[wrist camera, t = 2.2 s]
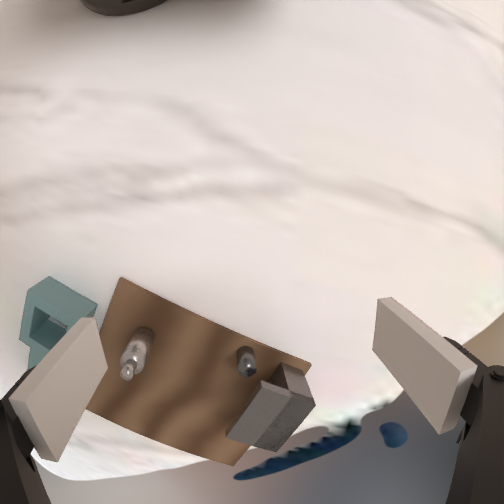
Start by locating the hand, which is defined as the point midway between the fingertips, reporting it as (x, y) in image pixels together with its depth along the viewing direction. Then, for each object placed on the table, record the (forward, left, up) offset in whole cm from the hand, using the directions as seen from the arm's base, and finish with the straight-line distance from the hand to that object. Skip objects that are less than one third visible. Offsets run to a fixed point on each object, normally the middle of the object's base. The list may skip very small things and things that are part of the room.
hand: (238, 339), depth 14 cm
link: (-14, -22, -20) cm, 33 cm away
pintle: (-4, -14, -20) cm, 24 cm away
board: (+3, -19, -20) cm, 28 cm away
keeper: (+10, -13, -19) cm, 25 cm away
